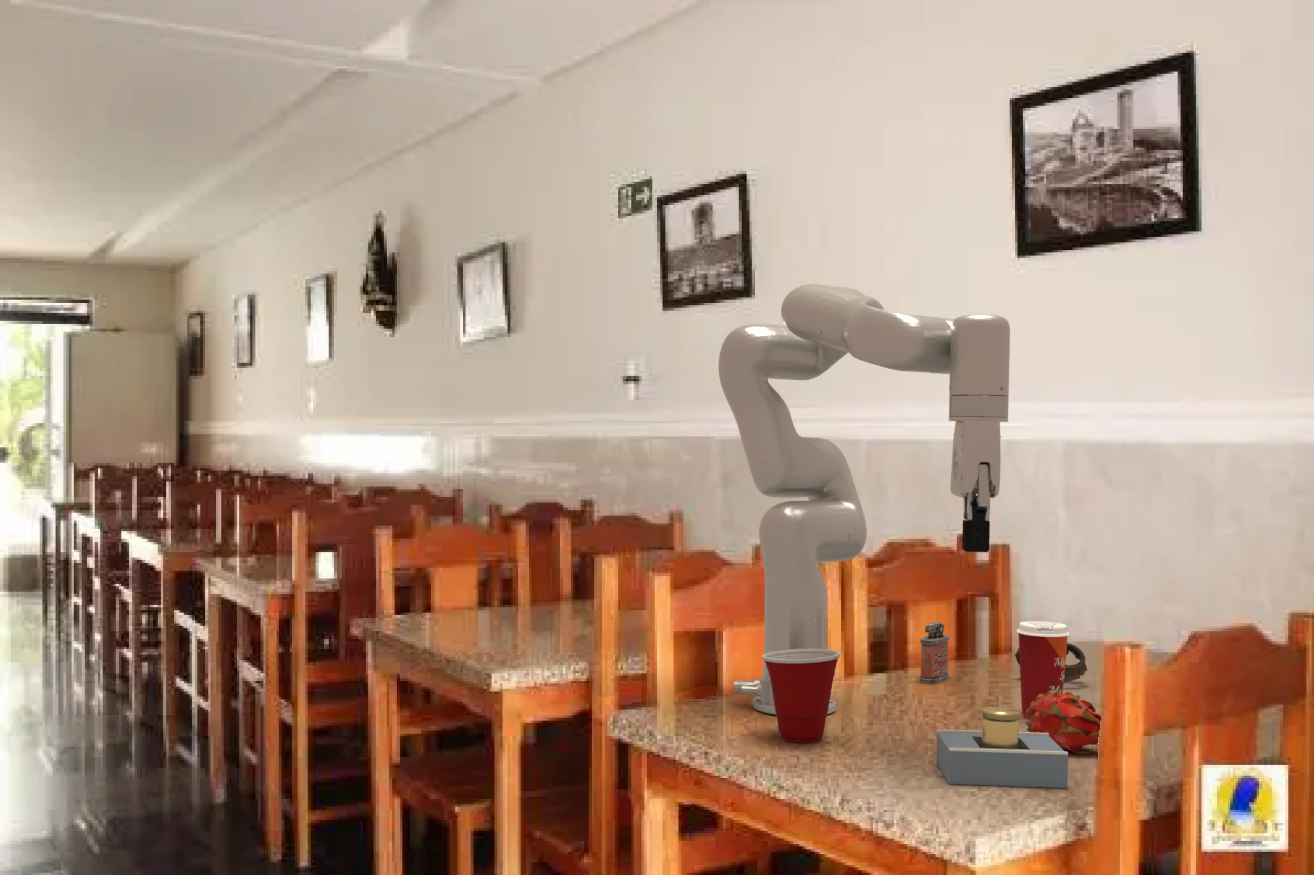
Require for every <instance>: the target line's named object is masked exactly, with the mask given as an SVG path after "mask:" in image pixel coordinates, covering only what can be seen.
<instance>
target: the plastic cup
mask: <svg viewBox="0 0 1314 875" xmlns="http://www.w3.org/2000/svg"><path fill="white" fill-rule="evenodd" d="M840 657H841V652H840V651H838V650H834V649H828V648H827V649H792V650H781V651H774V652H769V653H766V654H764V653H763V654H762V655H761V659H762V660H763V662H764V661H765V663H766V666H767V669H768V672H769V676H770V680H771V687H772V693H773V699H774V706H775V712H776V714H777V715H776V720H777V726H778V727H777V728H778V729H777V730H778V734H779V737H780V739H781V740H783V741H786V742H790V743H796V744H797V743H799V744H811V743H818V742H821V741H822V738H823V736H824V732H825V726H826V721H827V716H828V715H829V714H828V708H829V702H830V699H831V695H832V689H833V684H834V682H833V681H834V678H835V675H836V668H837V663H838V660H839V658H840Z"/></svg>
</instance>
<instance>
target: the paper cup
mask: <svg viewBox="0 0 1314 875" xmlns="http://www.w3.org/2000/svg"><path fill="white" fill-rule="evenodd" d="M1016 633H1017V634H1018V648H1019V656H1020V665H1019V679H1020V680H1019V681H1020V699H1021V701H1020V702H1021V714H1022V715H1021V716H1022V717H1023V718H1024V719H1027V720H1028V718H1027V717H1026V711H1027V709H1029V706H1030V704H1031V702H1033V701H1034V700H1035V699H1036V697H1037V696H1038V695H1039V694H1047V692H1048V691H1057V690H1060V691H1059V693H1060V694H1061V695H1062V694H1064V688H1065V687H1064V685H1065V682H1064V676H1065V665H1066V660H1067V655H1066V649H1067V643H1068V637H1069V636H1071V634H1070V632H1069V631H1068V626H1067V624H1064V623H1061V622H1055V621H1045V620H1043V621H1042V620H1026V621H1021V622H1019V626H1018V628H1017V629H1016Z"/></svg>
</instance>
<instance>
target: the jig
mask: <svg viewBox="0 0 1314 875" xmlns="http://www.w3.org/2000/svg"><path fill="white" fill-rule="evenodd" d="M981 736H982V730H974V729H973V730H971V729H969V730H968V729H967V730H965V729H942V728H941V729H936V762H935V763H936V764H937V766H938V768H939V770H940V771H941V773H942V775H943V776H944V779H945V780H946V782H947V783H948V784H949V785H968V786H971V785H972V786H995V787H996V786H997V787H999V786H1001V787H1021V788H1022V787H1023V788H1025V787H1026V788H1048V789H1049V788H1051V789H1068V784H1069V783H1068V781H1069V780H1068V777H1069V767H1068V766H1069V752H1068V751H1065V749H1064V748H1061V747H1060V746H1059V745H1058V744H1057V743H1056V742H1055V741H1054V740H1053V739H1052V738H1050V737H1049V733H1033V732H1029V731H1018V749H999V748H981Z"/></svg>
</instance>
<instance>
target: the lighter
mask: <svg viewBox="0 0 1314 875" xmlns="http://www.w3.org/2000/svg"><path fill="white" fill-rule="evenodd" d="M944 631H945V623H943V622H937V621H931V622H930V624H926V625H925V626H924V633H927V634H928V635H925V636H923V637H921V638H920V640H919V642H920V645H921V646H920V647H921V648H920V649H921V652H920V656H921V658H920V659H921V661H920V676H919V684H921V685H937V684H941V683H945V682H946V681H948V680H949V679H950V678H949V677H950V676H949V675H950V674H949V673H948V672H949V671H948V669H949V668H948V666H949V665H948V663H949V662H948V659H949V641H950V635H949V634H945V633H944Z"/></svg>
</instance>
